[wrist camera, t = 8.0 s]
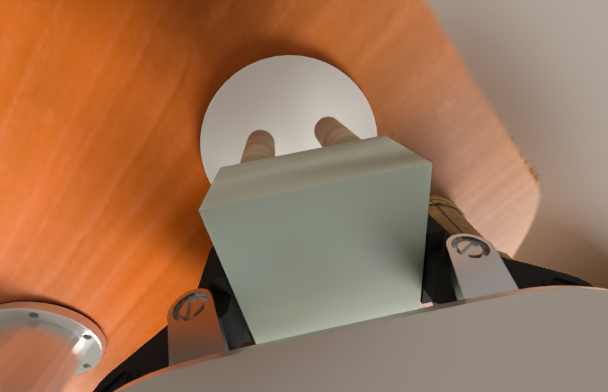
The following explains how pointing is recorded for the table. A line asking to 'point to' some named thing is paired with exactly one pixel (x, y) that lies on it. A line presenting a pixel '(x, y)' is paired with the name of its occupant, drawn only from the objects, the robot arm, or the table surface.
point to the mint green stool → (320, 230)
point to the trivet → (280, 108)
